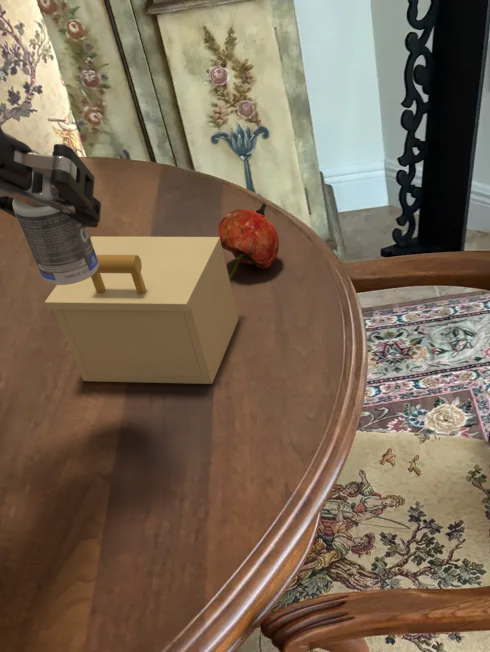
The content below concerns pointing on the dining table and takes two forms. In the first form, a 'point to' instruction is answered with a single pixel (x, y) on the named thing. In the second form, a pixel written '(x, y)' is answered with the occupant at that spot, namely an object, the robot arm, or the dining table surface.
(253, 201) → the dining table surface
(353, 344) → the dining table surface
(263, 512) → the dining table surface
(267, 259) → the pomegranate
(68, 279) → the pill bottle
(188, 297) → the chest lid
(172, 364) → the chest
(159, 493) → the dining table surface
